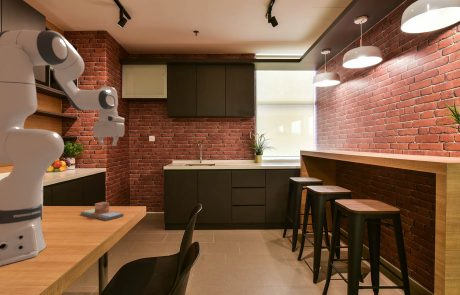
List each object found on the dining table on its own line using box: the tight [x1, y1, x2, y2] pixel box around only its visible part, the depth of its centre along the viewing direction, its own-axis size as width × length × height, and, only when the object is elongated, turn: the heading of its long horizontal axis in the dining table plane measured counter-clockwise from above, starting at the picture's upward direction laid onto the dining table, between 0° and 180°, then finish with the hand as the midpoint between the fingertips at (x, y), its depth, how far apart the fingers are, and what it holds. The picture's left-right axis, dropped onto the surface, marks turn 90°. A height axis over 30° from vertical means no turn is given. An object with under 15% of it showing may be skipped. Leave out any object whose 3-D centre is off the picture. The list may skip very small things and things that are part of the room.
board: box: [80, 208, 124, 222], centre depth 126 cm, size 9×20×2 cm, turn 62°
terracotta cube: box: [94, 201, 110, 214], centre depth 126 cm, size 4×4×4 cm
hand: (108, 145), depth 132 cm, fingers open, 8 cm apart
